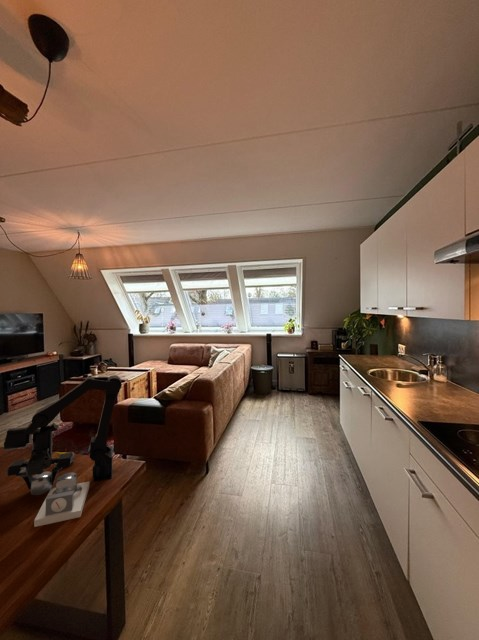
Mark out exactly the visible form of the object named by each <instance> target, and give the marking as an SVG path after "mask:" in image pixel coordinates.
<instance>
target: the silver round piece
mask: <svg viewBox="0 0 479 640" xmlns="http://www.w3.org/2000/svg"><path fill="white" fill-rule="evenodd" d="M77 484H78V473H76V472H73V471H72V472H71V471H70V472H66V473H62V474H61V475H59V476H58V477H56V478H55V488H56V494H58V493H63V492H69V491H74V493H75V492H76V491H77Z"/></svg>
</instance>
